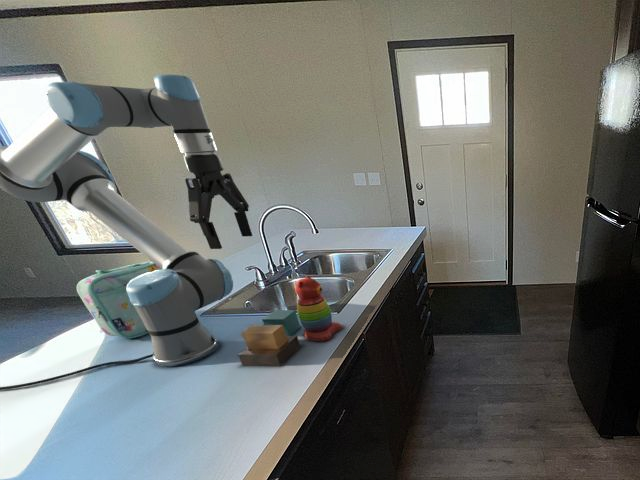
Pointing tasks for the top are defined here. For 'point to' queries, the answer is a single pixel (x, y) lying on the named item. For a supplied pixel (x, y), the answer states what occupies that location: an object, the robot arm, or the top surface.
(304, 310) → the stacking bear
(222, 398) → the top surface
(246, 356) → the walnut base
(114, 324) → the lunch box
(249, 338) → the oak brick
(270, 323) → the teal cube
